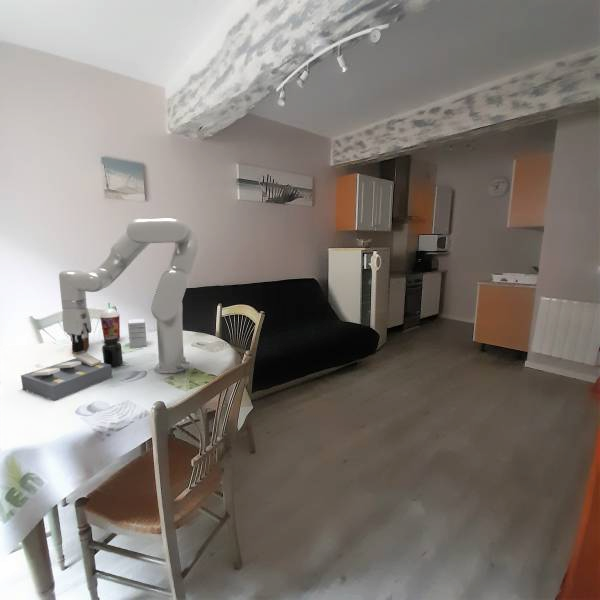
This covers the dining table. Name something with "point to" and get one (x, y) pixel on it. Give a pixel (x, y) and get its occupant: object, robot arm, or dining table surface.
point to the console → (66, 379)
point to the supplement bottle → (112, 352)
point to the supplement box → (137, 333)
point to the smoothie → (110, 322)
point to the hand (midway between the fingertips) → (78, 350)
